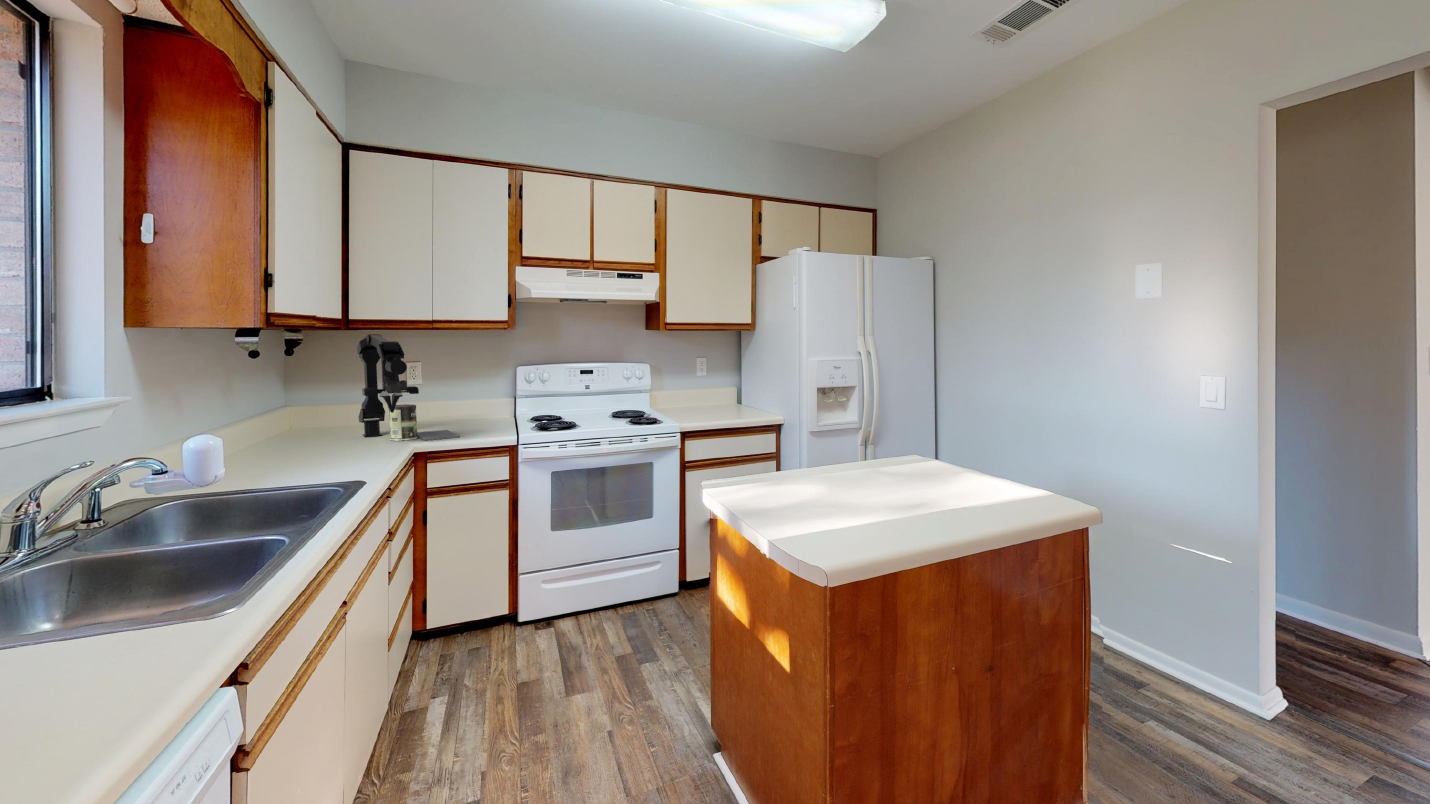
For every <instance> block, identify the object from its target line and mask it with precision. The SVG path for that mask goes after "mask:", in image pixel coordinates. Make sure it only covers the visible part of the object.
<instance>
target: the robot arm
mask: <svg viewBox="0 0 1430 804" xmlns="http://www.w3.org/2000/svg"><path fill="white" fill-rule="evenodd" d="M356 347H357V348H356V352H357V354H358V358H359V360H360V361H361V363H362V364H363V369H364V370H363V371H364V372H363V373H364V375H363V376H364V387H363V388H362V391H361V392H362V396H364V397H365V398H364V400H363V401H362V403H361V408H360V410H359V413H358V417H357V418H358V422H359V423H361V424H363V426H364V427H363V430H364V433H362V436H363V437H364V438H370V437H381V436H383V434H382V433H381V429H380V428H381V427H380V425H381V424H380V422H384V421H385V416H386V410H385V407H384V403H383V402H382V401H381V400H380V399H379V397H380V398H383V400H384V401H385V403H386V405H387V408H388V411H389V410H390V412H391V413H393V412H394V409H395V406H396V405H397V403H398V401H399V399H400V398H401V397H403V396H404V395H403V393H404V394H405V393H407V394H410V395H417V394H419V393H420V390H419V389H420V388H419V387H418V386H416V385H408V381H407V380H406V379H405V380H400V375H404V373H405V372H406V371H407V369H408V367H407V364H406V362H405V361H404V359H405V352H404V350H403V347H402V346H401V344H400V343H399V341H397V340H389V339H386V337H383V335H382V334H379V333H368V334H366V336H365V337H364V338H362V339H361V340H360V341H359V342H358V344H357V346H356ZM402 359H403V360H402ZM379 362H380V364H381V383H382V388H379V385H378V370H377V369H378V368H377V367H378V363H379Z"/></svg>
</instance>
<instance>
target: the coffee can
mask: <svg viewBox="0 0 1430 804" xmlns="http://www.w3.org/2000/svg"><path fill="white" fill-rule="evenodd" d="M388 420H389V421H388V423H389V440H390V441H395V442H401V441H402V440H405V441H412V440H417V439H418V437H417V432H418V424H417V423H418V422H417V405H416V404H407V403H405V404H396V406H395V409H394V412H393V413H391V412H390V410H389V409H388ZM402 442H403V441H402Z"/></svg>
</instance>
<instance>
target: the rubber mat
mask: <svg viewBox="0 0 1430 804" xmlns="http://www.w3.org/2000/svg"><path fill="white" fill-rule="evenodd" d="M417 437H418V438H419V439H420V440H422V441H435V440H437V441H438V440H447V439H456V438H457V439H458V438H459V439H460V438H461V436H460V435H459V434H457V433H455V432H453V431H451V430H449V429H441V430H429V431H417ZM418 438H417V439H418Z"/></svg>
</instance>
